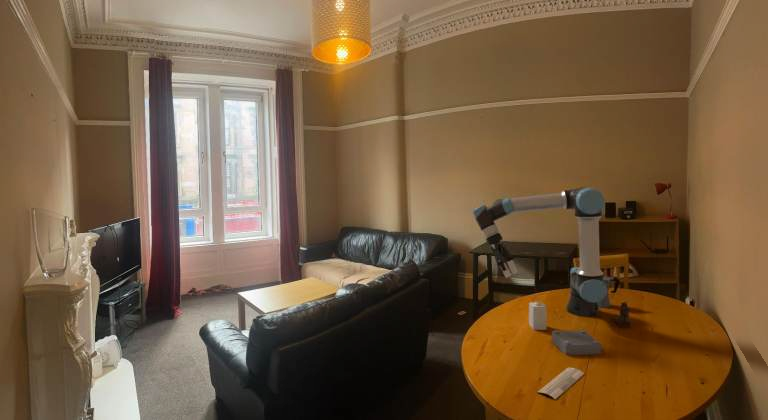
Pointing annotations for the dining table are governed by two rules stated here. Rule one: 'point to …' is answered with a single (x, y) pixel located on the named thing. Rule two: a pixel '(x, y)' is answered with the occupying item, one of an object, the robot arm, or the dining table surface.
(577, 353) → the base plate
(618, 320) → the dark figurine
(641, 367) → the dining table surface
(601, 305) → the coffeepot
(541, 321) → the tower brick
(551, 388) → the newspaper
